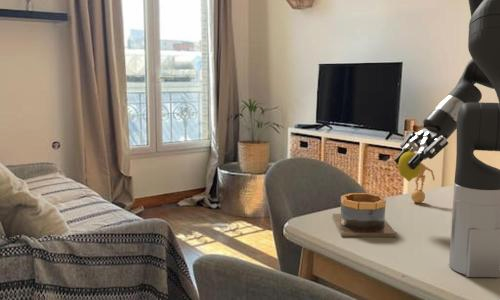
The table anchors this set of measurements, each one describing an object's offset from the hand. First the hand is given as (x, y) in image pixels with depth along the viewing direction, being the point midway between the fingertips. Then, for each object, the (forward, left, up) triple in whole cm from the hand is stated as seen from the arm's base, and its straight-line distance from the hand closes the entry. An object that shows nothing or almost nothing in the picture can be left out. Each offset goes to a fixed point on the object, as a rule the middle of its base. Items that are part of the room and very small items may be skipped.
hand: (403, 165), depth 126 cm
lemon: (0, -2, -5) cm, 5 cm away
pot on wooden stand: (-2, +10, -16) cm, 19 cm away
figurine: (+23, -12, -16) cm, 30 cm away
